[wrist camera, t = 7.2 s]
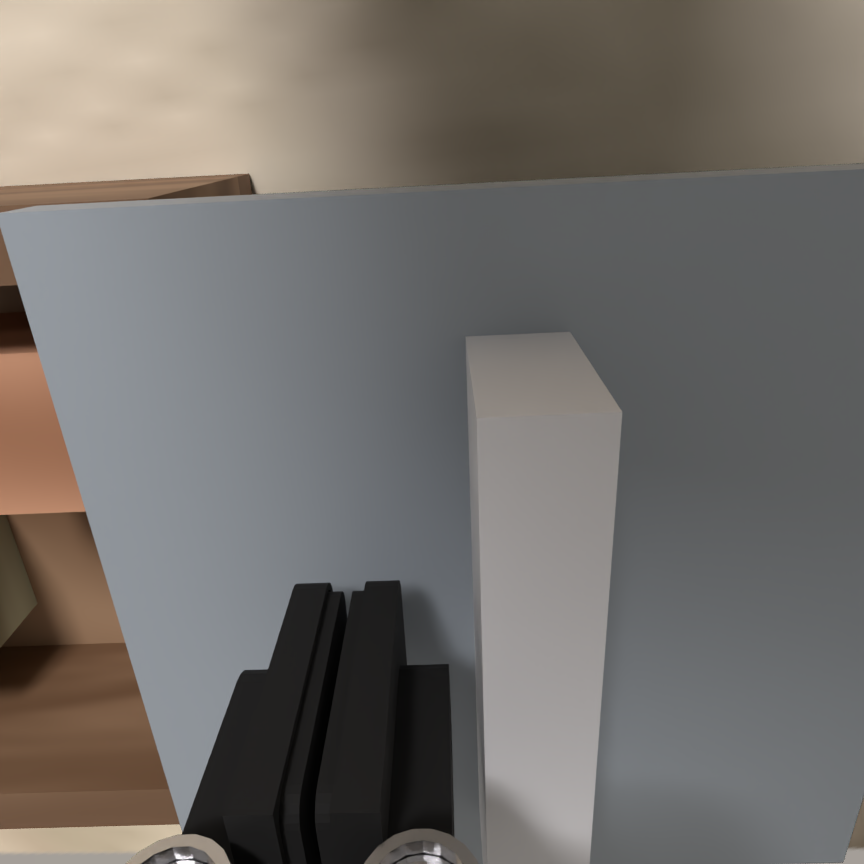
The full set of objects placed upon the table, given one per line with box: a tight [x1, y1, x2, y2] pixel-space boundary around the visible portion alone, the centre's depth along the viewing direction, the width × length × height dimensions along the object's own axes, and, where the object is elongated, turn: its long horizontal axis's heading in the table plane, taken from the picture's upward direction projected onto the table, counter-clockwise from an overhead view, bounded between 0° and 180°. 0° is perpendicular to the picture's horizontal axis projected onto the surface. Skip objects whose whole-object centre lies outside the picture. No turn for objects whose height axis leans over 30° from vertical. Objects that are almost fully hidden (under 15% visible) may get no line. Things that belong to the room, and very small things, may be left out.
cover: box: [0, 163, 864, 864], centre depth 11 cm, size 14×14×4 cm
